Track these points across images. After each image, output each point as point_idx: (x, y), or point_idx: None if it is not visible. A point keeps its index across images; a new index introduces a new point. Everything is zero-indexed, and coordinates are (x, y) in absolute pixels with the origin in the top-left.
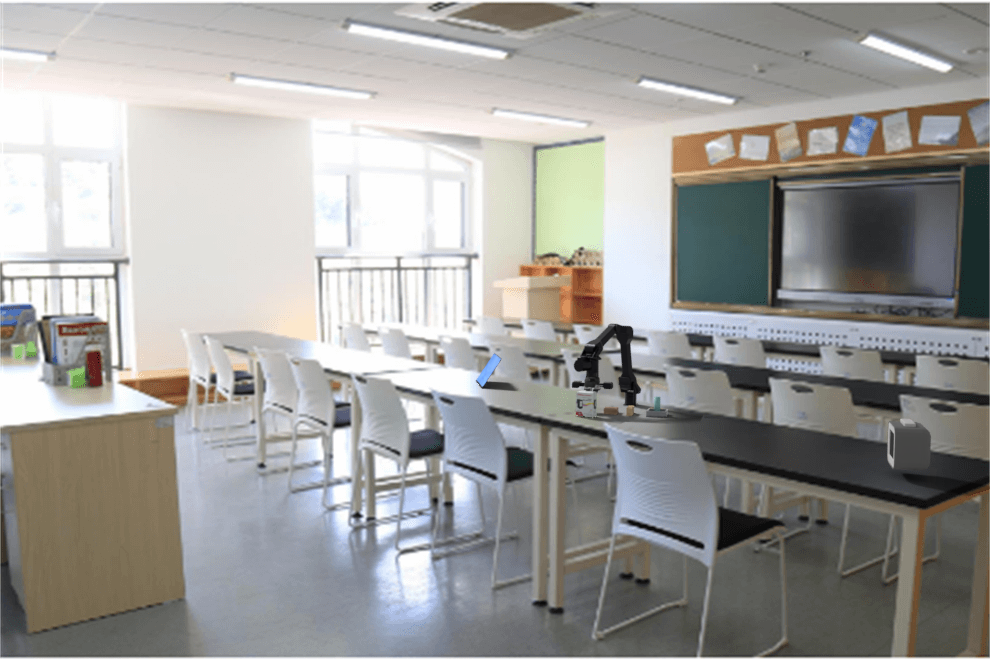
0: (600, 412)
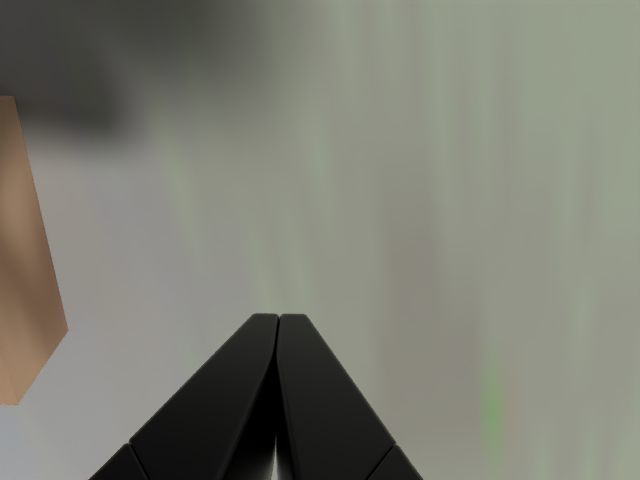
0: (151, 296)
